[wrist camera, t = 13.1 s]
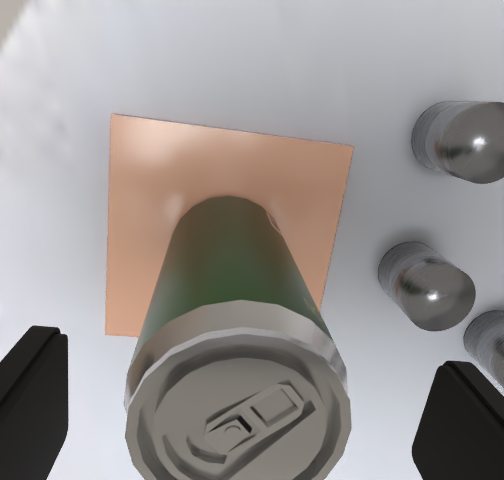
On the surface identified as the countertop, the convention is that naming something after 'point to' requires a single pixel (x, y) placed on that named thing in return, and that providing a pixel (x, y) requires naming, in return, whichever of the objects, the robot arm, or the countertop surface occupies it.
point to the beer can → (234, 359)
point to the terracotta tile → (209, 186)
